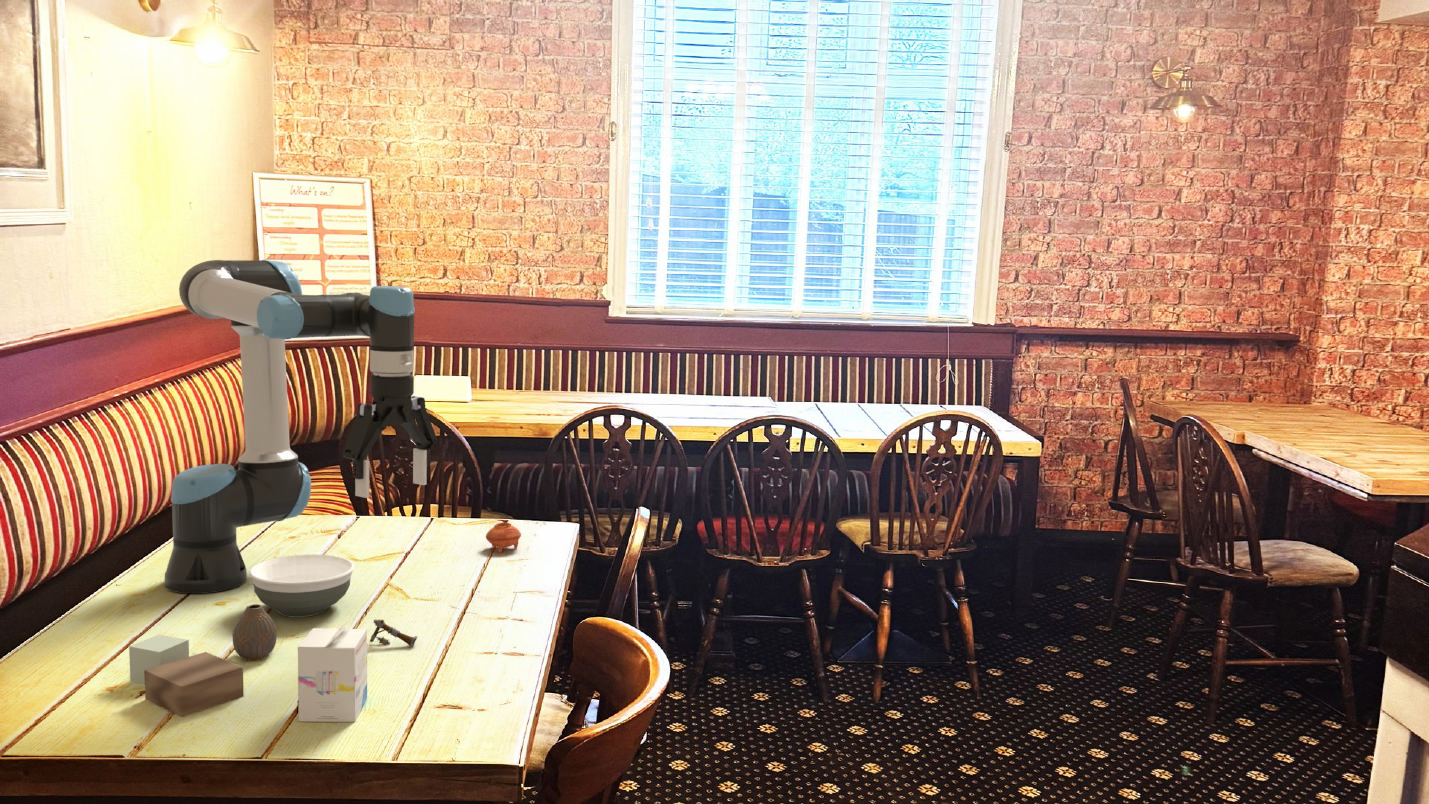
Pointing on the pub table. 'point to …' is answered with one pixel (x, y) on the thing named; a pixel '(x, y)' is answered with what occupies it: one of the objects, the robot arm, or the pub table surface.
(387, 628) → the wooden post with brackets
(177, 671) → the plinth
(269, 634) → the vase
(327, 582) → the bowl
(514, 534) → the pot
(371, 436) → the robot arm
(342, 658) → the ink box
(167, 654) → the sage cube
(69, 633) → the pub table surface
